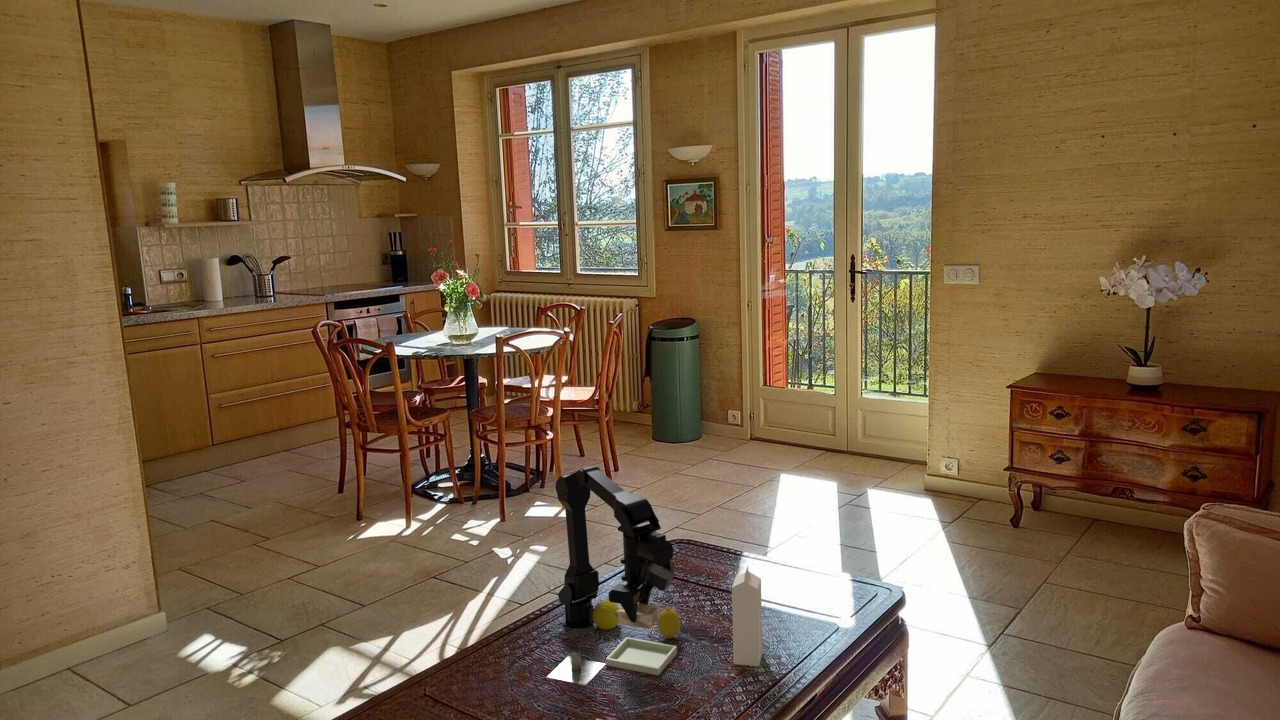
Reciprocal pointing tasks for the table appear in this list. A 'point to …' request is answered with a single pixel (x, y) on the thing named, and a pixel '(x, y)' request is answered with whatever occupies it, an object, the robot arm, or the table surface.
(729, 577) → the table surface
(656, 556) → the robot arm
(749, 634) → the milk
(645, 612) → the wooden rectangular frame
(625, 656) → the tray
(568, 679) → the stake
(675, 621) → the lemon
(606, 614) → the tennis ball
